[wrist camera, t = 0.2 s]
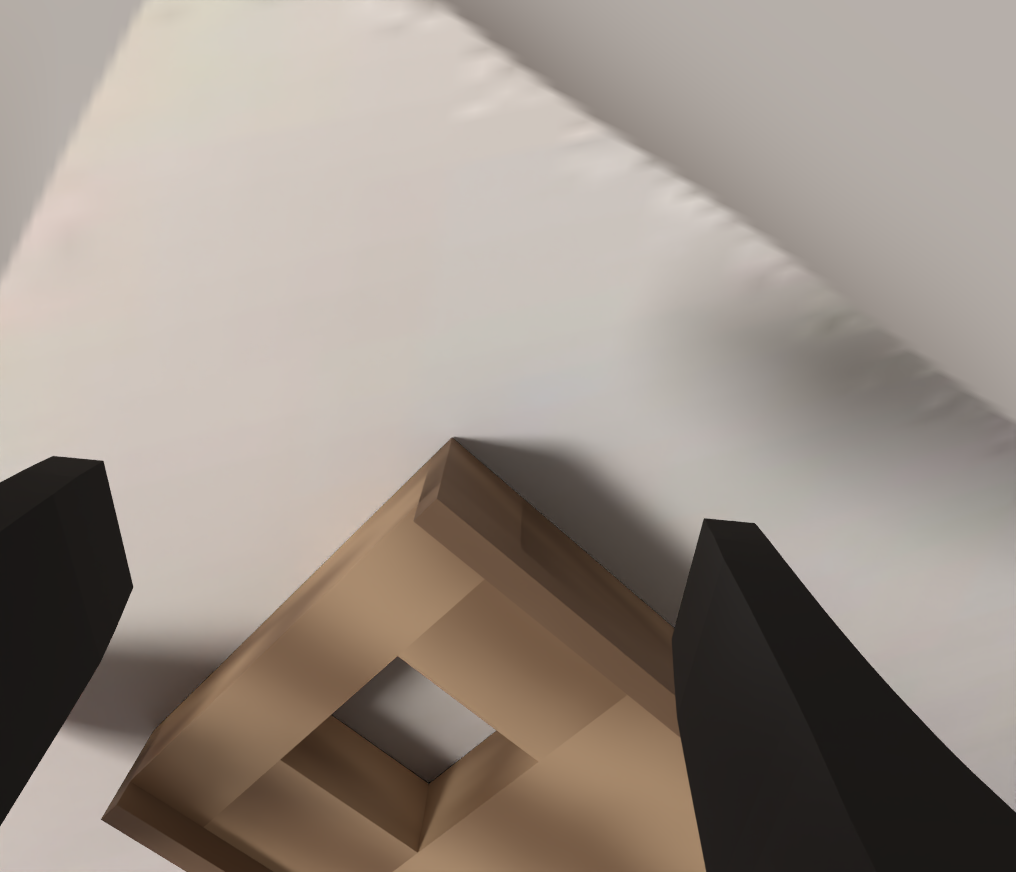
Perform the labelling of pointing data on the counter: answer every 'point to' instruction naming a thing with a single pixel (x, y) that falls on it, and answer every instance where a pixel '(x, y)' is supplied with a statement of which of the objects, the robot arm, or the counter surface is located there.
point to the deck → (459, 672)
